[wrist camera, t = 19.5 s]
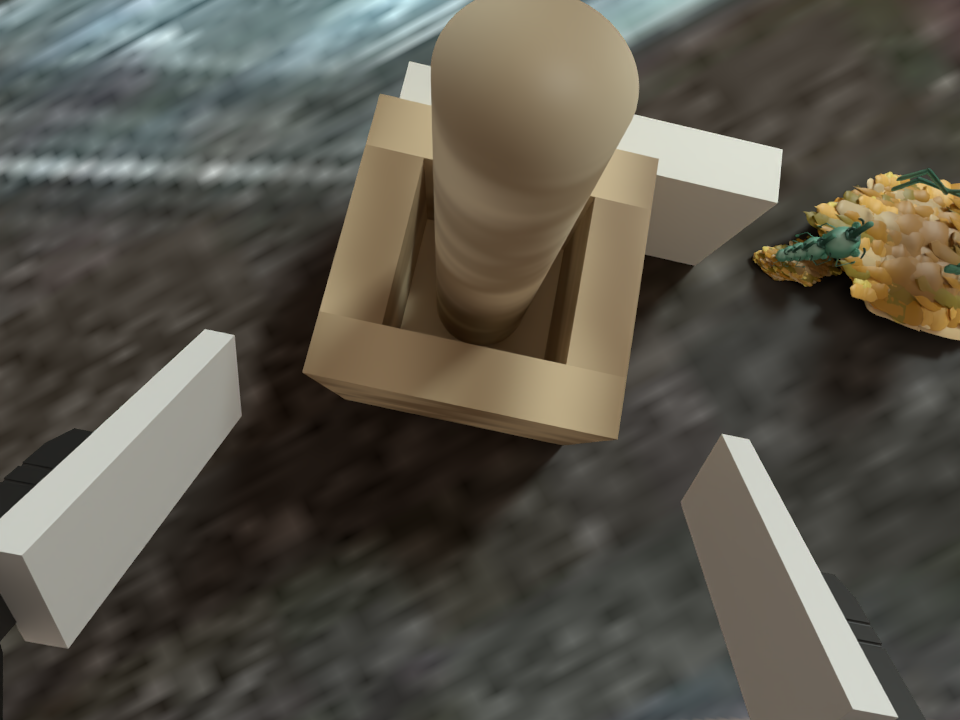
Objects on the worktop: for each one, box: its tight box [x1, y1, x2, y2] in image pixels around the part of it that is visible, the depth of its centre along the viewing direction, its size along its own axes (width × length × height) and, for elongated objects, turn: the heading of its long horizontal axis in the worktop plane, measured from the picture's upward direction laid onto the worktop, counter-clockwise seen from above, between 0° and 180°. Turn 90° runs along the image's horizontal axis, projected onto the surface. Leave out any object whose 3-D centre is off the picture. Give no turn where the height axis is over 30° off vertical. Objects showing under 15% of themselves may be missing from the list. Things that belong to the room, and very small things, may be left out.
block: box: [302, 94, 659, 445], centre depth 22 cm, size 11×11×8 cm
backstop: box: [400, 61, 782, 266], centre depth 24 cm, size 16×2×7 cm, turn 79°
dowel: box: [431, 0, 639, 346], centre depth 17 cm, size 4×4×14 cm
